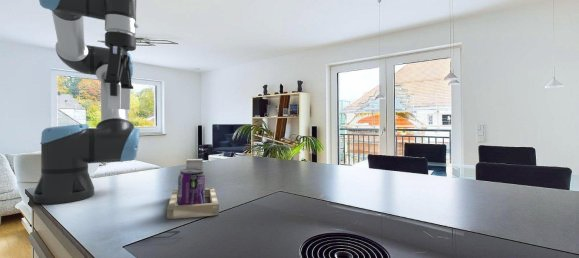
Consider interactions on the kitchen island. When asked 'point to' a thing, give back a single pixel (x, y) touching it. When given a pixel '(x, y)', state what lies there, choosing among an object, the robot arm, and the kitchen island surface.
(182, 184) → the beverage can
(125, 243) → the kitchen island surface
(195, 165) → the can sled
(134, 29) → the robot arm
